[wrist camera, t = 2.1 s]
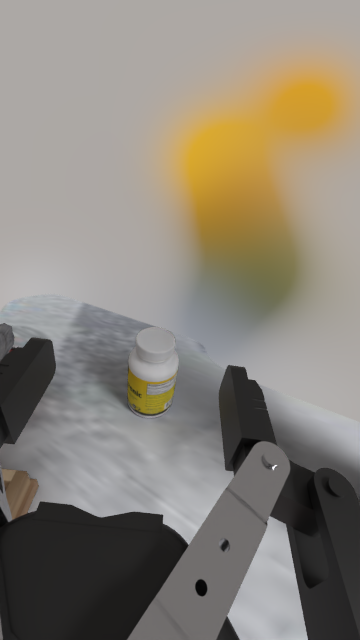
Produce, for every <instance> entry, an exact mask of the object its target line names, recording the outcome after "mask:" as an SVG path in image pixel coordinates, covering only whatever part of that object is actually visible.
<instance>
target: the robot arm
mask: <svg viewBox="0 0 360 640" xmlns="http://www.w3.org/2000/svg"><path fill="white" fill-rule="evenodd" d="M55 369H56V363H55V356H54V350H53V344H52V341H51V340H48V339H41V338H34V337H33V338H31V339H30V340H29V341H28V342H27V344H26V345H25V346H24V347H23V348H19V347H17V348H16V349H14V350H12V351H11V352H9V353H8V354H6V355H5V356H4V357H3V359H2V360H1V361H0V448H1V446H2V445H3V443H7V444H15V442H16V441H17V439H18V437H19V435H20V434H21V432H22V430H23V429H24V427H25V425H26V423H27V422H28V420H29V418H30V416H31V415H32V413H33V411H34V410H35V408H36V406H37V404H38V403H39V401H40V399H41V397H42V396H43V394H44V392H45V390H46V389H47V387H48V385H49V384H50V382H51V380H52V378H53V376H54V373H55ZM219 408H220V418H221V428H222V438H223V449H224V459H225V469H226V470H227V471H234V478H233V479H232V481H231V482H230V484H229V485H228V487H227V488H226V489H225V490H224V492H223V493H222V495H221V496H220V498H219V500H218V501H217V503H216V504H215V506H214V507H213V509H212V510H211V512H210V513H209V515H208V517H207V518H206V520H205V521H204V523H203V524H202V526H201V527H200V529H199V530H198V532H197V534H196V535H195V537H194V538H193V540H192V541H191V543H190V544H189V545H188V543H187V542H186V541H185V540H184V539H183V538H182V536H181V535H179V534H178V533H177V532H176V531H175V530H173V529H172V528H170V527H169V526H167V525H165V524H163V515H160V514H151V513H141V512H129V513H124V514H119V515H113V516H108V517H102V518H100V517H97V516H94V515H92V514H90V513H88V512H86V511H83V510H81V509H79V508H77V507H75V506H72V505H67V504H58V503H49V502H40V503H39V506H38V508H37V511H34V512H30V513H27V514H24V515H22V516H19V517H17V518H15V519H13V520H12V516H11V512H10V508H9V505H8V502H7V498H6V492H5V486H4V480H3V475H2V469H1V463H0V640H240V639H239V638H238V636H237V634H236V632H235V630H234V628H233V626H232V624H231V622H230V621H229V619H228V617H227V615H228V612H229V610H230V608H231V606H232V604H233V601H234V599H235V597H236V595H237V593H238V590H239V588H240V586H241V584H242V582H243V579H244V577H245V575H246V573H247V571H248V569H249V566H250V564H251V562H252V560H253V558H254V555H255V553H256V551H257V549H258V547H259V544H260V542H261V540H262V538H263V536H264V533H265V531H266V528H267V520H268V518H269V516H271V517H273V518H275V519H277V520H279V521H281V522H283V523H285V524H286V526H287V531H288V537H289V542H290V547H291V552H292V558H293V563H294V568H295V573H296V579H297V584H298V589H299V594H300V600H301V605H302V610H303V615H304V621H305V626H306V631H307V636H308V640H360V501H359V500H358V498H357V496H356V493H355V491H354V489H353V487H352V486H351V484H350V483H349V482H348V480H347V479H346V478H345V477H343V476H342V475H341V474H340V473H338V472H336V471H335V470H332V469H329V468H321V469H319V470H318V471H317V472H316V473H315V472H312V471H310V470H308V469H306V468H303V467H301V466H299V465H297V464H295V463H293V462H291V461H290V460H289V459H288V457H287V456H286V454H285V453H284V451H283V450H282V449H281V448H279V447H278V446H277V443H276V440H275V437H274V433H273V429H272V426H271V422H270V418H269V414H268V411H267V407H266V403H265V402H264V396H263V392H262V389H261V388H260V387H259V385H258V384H257V382H256V381H255V380H249V379H248V377H247V372H246V369H245V368H244V367H238V366H230V365H228V367H227V369H226V372H225V375H224V377H223V380H222V383H221V386H220V390H219Z"/></svg>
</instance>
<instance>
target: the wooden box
mask: <svg viewBox="0 0 360 640" xmlns="http://www.w3.org/2000/svg"><path fill="white" fill-rule="evenodd" d="M2 475H3V480H4V486H5V492H6V498H7V502H8V505H9V508H10V512H11V516H12V520H13V519H15V518H17V517H19V516H22V515H24V514H27V512H28V510H29V507H30V505H31V503H32V500H33V498H34V496H35V493H36V491H37V489H38V487H39V485H38V482H37V480H36V479H29V476H28V474H27V471H18V470H8V469H2Z"/></svg>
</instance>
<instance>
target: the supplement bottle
mask: <svg viewBox="0 0 360 640" xmlns="http://www.w3.org/2000/svg"><path fill="white" fill-rule="evenodd" d="M175 343H176V341H175V337H174V336H173V334H172V333H171V332H169V331H168V330H166V329H163V328H159V327H149V328H146V329H143V330H141V331H140V332H139V333H138V334H137V336H136V345H135V348H134V349H133V350H132V351H131V353H130V355H129V360H128V393H127V399H128V405H129V407H130V409H131V410H132V411H133V412H134V413H135V414H137V415H138V416H140V417H144V418H156V417H159V416H161V415H163V414H165V413H166V412H167V411H168V410H169V408H170V406H171V404H172V400H173V395H174V389H175V383H176V377H177V372H178V366H179V358H178V355H177V353H176V351H175Z"/></svg>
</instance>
